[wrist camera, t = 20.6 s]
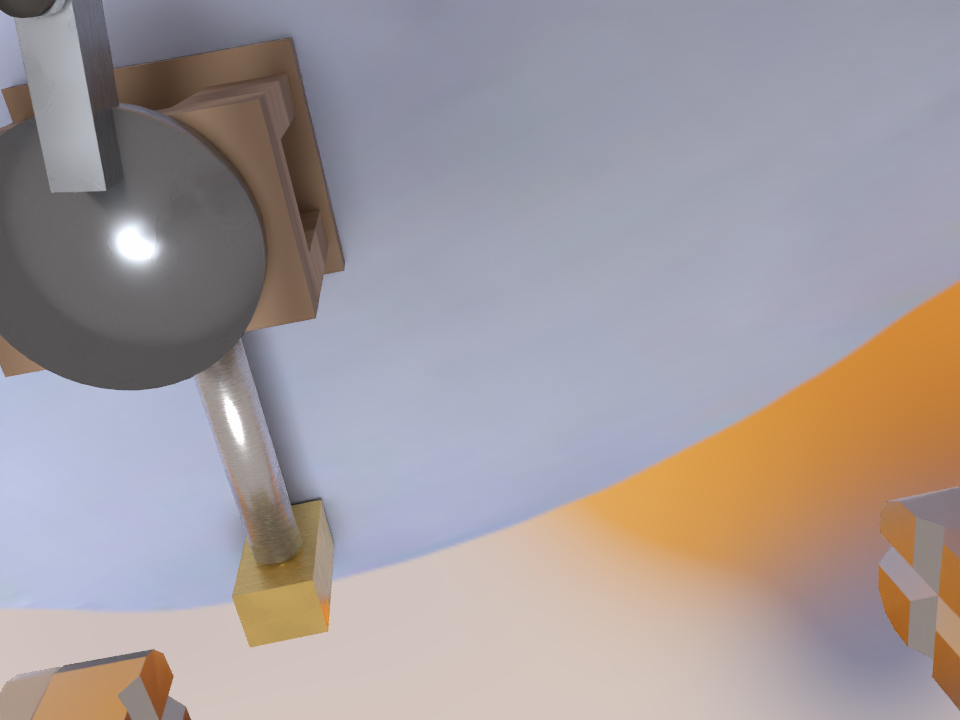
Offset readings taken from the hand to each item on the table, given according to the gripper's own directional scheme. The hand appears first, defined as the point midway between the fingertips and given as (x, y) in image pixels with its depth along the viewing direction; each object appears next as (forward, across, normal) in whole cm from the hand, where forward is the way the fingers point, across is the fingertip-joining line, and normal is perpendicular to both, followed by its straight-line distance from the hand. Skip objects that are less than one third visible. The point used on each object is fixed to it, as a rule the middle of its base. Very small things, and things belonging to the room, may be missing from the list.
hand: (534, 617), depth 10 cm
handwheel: (+26, +12, -1) cm, 29 cm away
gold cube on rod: (+39, +12, +15) cm, 43 cm away
